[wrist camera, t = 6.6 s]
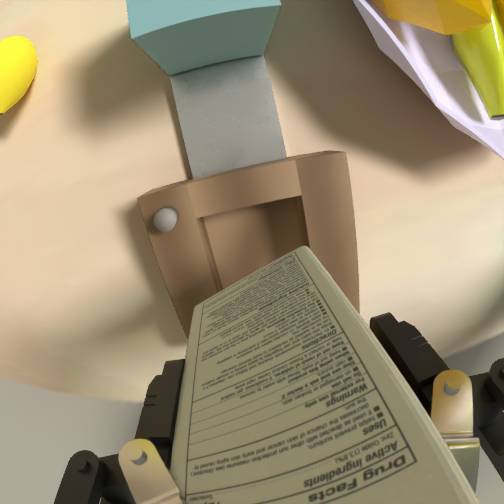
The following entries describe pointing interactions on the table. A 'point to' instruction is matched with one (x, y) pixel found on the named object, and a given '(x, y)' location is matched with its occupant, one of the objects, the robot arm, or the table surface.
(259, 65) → the rail
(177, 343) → the table surface
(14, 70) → the lemon
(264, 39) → the teal block
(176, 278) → the socket block
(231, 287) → the skincare box
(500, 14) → the fruit bowl
